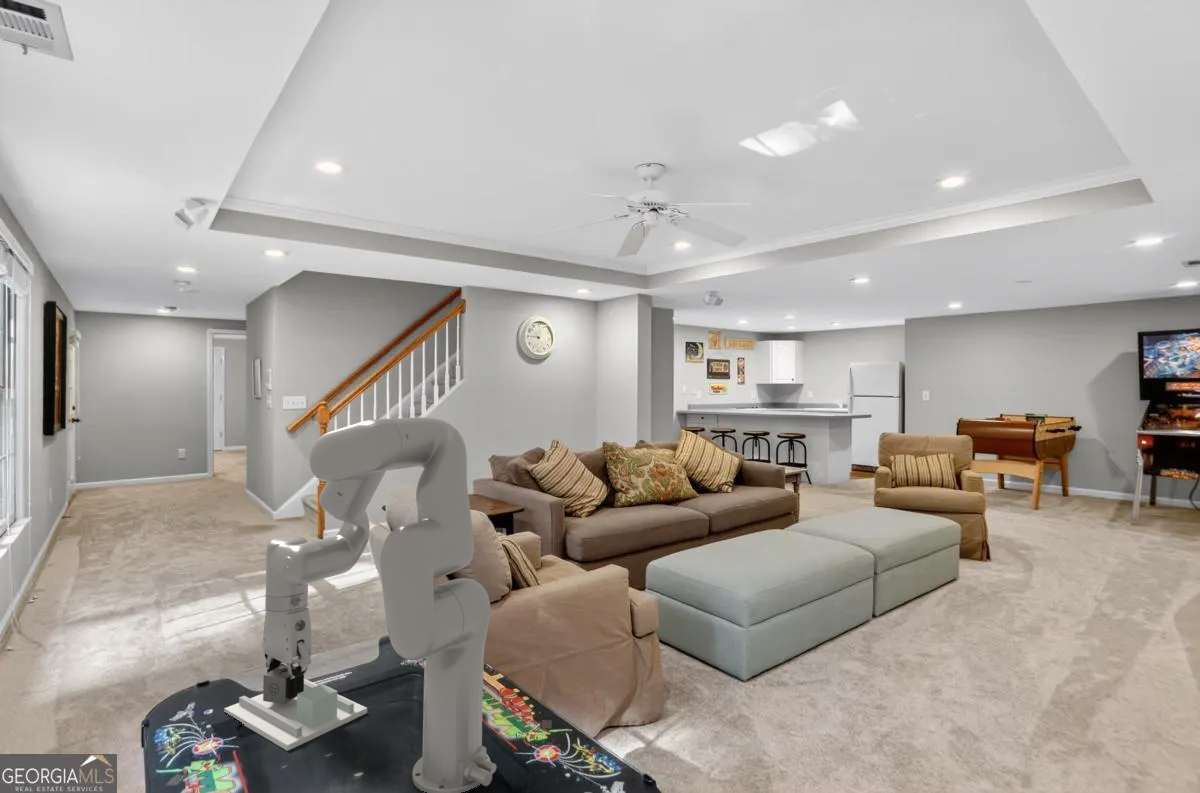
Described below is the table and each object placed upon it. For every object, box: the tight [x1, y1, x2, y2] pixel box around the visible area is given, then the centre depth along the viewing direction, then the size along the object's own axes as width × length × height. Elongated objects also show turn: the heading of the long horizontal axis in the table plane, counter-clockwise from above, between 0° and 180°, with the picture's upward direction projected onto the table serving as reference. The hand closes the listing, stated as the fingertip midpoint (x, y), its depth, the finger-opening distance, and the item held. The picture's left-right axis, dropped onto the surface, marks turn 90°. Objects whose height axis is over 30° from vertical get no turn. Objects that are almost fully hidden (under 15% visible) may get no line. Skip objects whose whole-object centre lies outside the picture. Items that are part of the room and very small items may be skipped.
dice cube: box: [262, 664, 297, 704], centre depth 123 cm, size 5×5×5 cm
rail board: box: [223, 678, 368, 752], centre depth 121 cm, size 22×16×6 cm
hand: (285, 690), depth 123 cm, fingers closed on dice cube, 6 cm apart
